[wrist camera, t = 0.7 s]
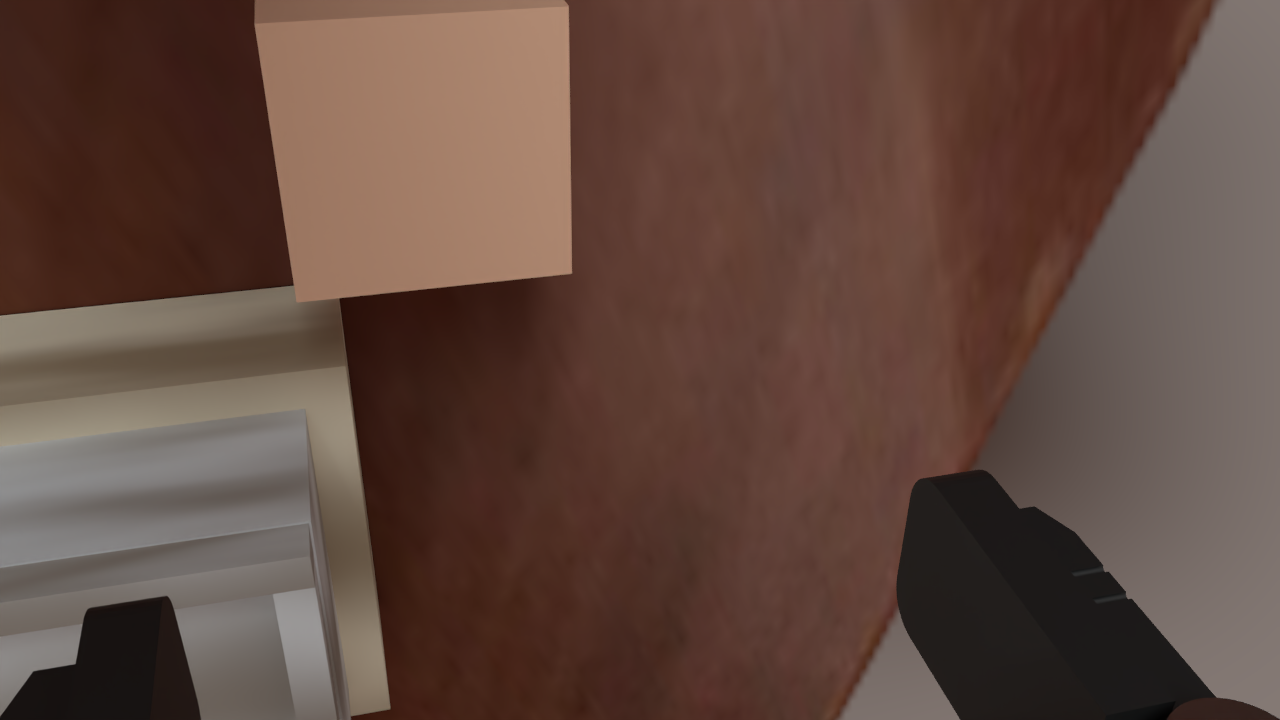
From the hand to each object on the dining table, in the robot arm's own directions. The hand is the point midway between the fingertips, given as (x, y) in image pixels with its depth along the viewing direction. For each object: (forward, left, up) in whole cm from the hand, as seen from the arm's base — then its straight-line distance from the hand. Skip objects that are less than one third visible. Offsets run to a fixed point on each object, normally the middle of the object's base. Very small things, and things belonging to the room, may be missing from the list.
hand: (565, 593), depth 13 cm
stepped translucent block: (+11, -8, -18) cm, 22 cm away
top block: (0, 0, -18) cm, 18 cm away
